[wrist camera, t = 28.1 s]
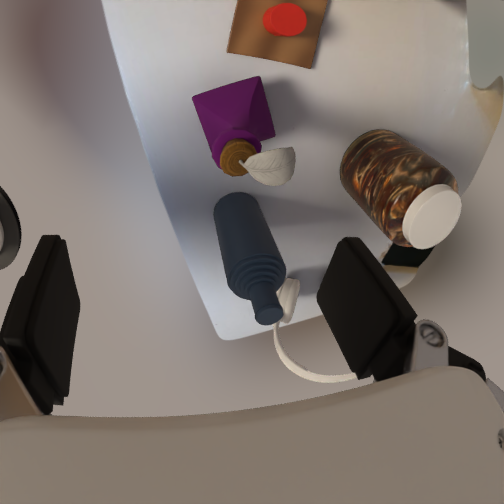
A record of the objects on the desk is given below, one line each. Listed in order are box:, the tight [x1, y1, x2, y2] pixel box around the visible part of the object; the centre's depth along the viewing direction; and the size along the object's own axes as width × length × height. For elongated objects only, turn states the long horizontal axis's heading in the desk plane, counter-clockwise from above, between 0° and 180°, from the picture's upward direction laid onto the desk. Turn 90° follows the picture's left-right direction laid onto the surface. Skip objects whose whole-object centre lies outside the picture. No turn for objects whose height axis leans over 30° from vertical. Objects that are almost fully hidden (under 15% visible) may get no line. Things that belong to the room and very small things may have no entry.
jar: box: [340, 130, 462, 249], centre depth 37 cm, size 12×12×15 cm
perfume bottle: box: [192, 76, 296, 186], centre depth 27 cm, size 8×8×18 cm
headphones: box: [273, 278, 357, 383], centre depth 47 cm, size 7×18×20 cm, turn 88°
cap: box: [263, 3, 307, 36], centre depth 26 cm, size 4×4×3 cm
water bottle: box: [213, 192, 286, 325], centre depth 36 cm, size 6×6×18 cm
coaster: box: [227, 0, 328, 69], centre depth 27 cm, size 10×10×1 cm
